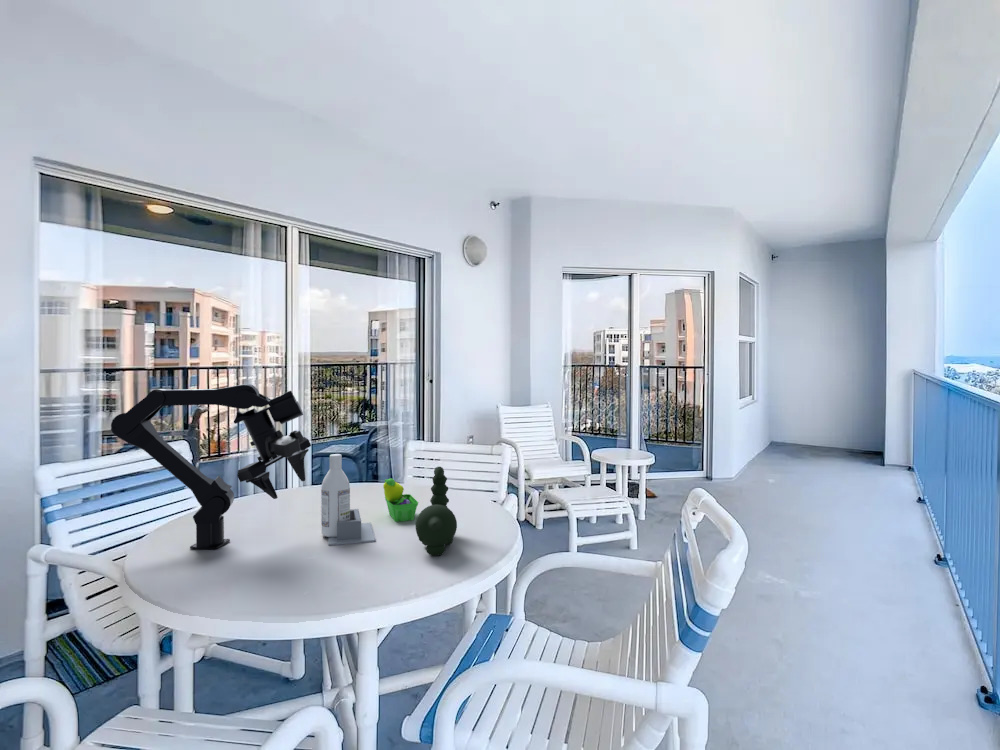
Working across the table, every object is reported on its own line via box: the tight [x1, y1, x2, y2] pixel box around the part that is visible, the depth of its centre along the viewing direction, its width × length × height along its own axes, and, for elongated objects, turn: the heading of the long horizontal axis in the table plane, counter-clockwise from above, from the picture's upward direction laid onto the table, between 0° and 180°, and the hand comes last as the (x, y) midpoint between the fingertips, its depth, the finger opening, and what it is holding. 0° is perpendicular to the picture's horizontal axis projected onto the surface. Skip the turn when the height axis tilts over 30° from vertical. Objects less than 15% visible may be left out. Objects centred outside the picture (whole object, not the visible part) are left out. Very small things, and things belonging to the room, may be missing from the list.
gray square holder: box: [328, 508, 376, 546], centre depth 147 cm, size 11×16×5 cm
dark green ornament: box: [415, 466, 458, 557], centre depth 137 cm, size 9×19×25 cm
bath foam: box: [320, 453, 351, 538], centre depth 145 cm, size 7×7×20 cm
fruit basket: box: [383, 477, 419, 523], centre depth 163 cm, size 11×9×11 cm
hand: (290, 489), depth 142 cm, fingers open, 9 cm apart
